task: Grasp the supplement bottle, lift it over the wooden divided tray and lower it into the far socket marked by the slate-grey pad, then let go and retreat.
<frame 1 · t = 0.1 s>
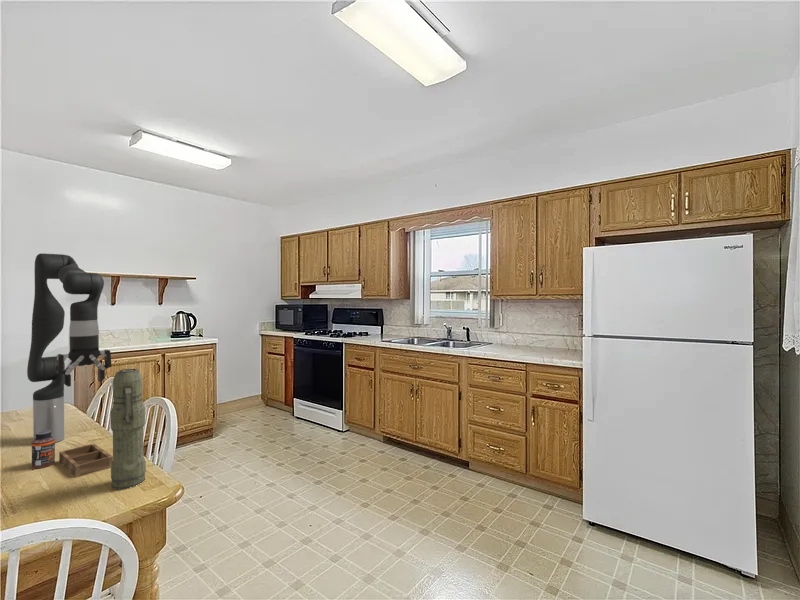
hand: (84, 383, 132), 29 cm above the table, fingers open, 8 cm apart
thermos: (128, 483, 126), on the table
wooden divided tray: (85, 464, 139), on the table
supplement bottle: (43, 465, 138), on the table
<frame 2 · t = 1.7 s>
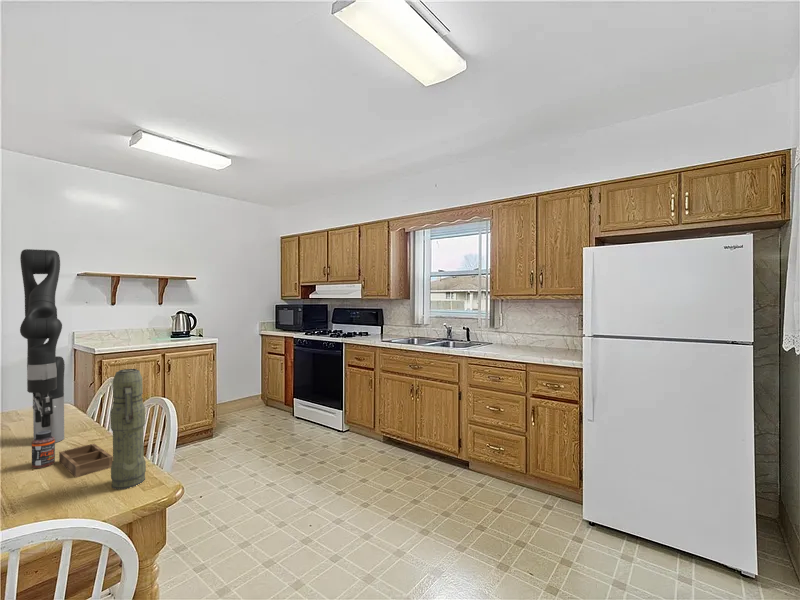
hand: (42, 424, 138), 14 cm above the table, fingers open, 8 cm apart
nothing on the table moved.
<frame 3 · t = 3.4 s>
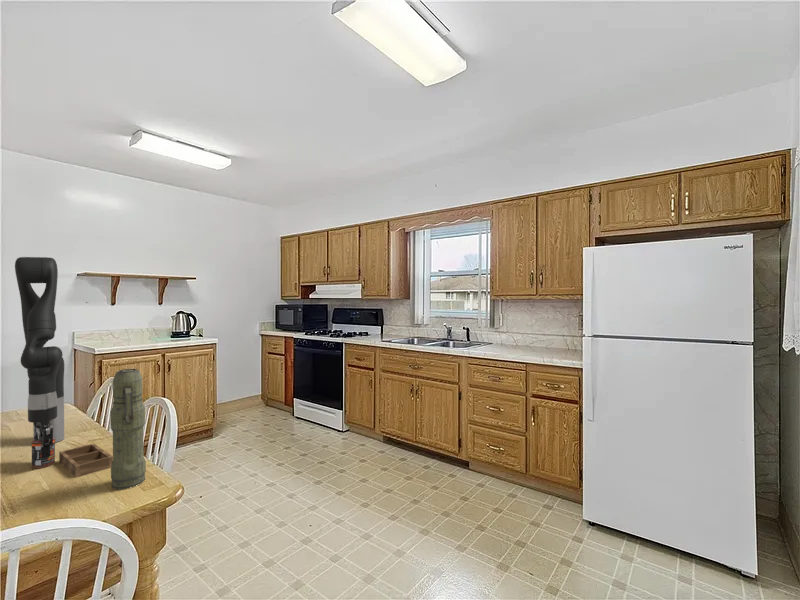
hand: (43, 454, 138), 4 cm above the table, fingers closed on supplement bottle, 6 cm apart
supplement bottle: (43, 465, 138), on the table, touching gripper
everything else where it was.
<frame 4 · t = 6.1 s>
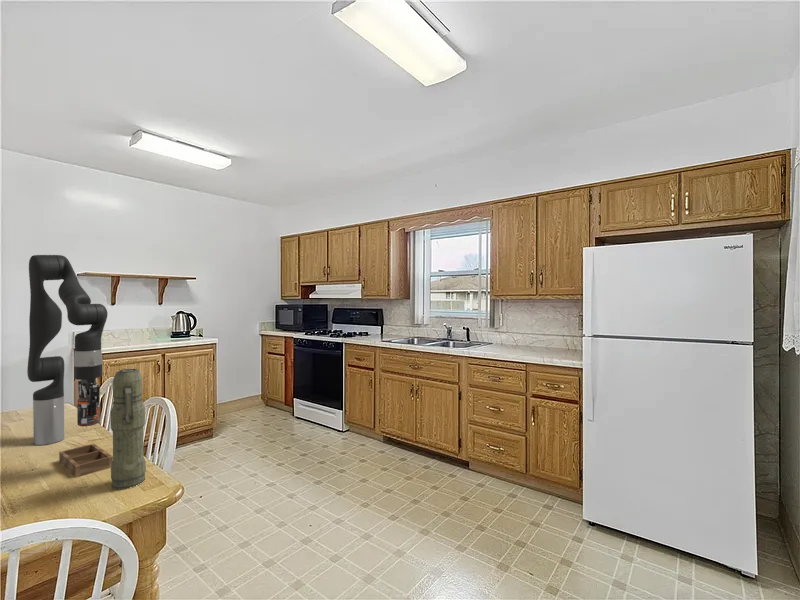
hand: (88, 413, 136), 18 cm above the table, fingers closed on supplement bottle, 6 cm apart
supplement bottle: (88, 424, 136), point 15 cm above the table, touching gripper
everything else where it was.
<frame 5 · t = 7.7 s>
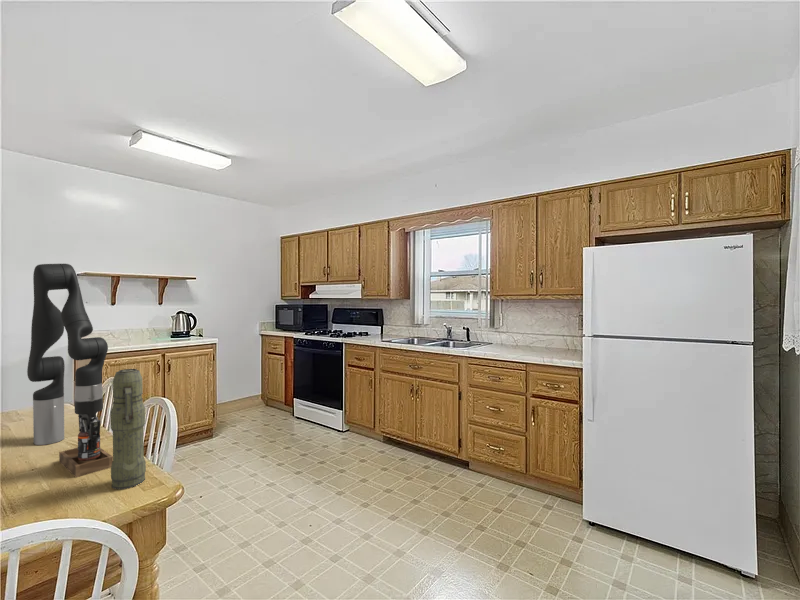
hand: (89, 447, 136), 7 cm above the table, fingers closed on supplement bottle, 6 cm apart
supplement bottle: (89, 458, 136), point 3 cm above the table, touching gripper
everything else where it was.
when the fingers open (5 cm above the table, at t = 9.1 s): supplement bottle stays where it is, resting on wooden divided tray.
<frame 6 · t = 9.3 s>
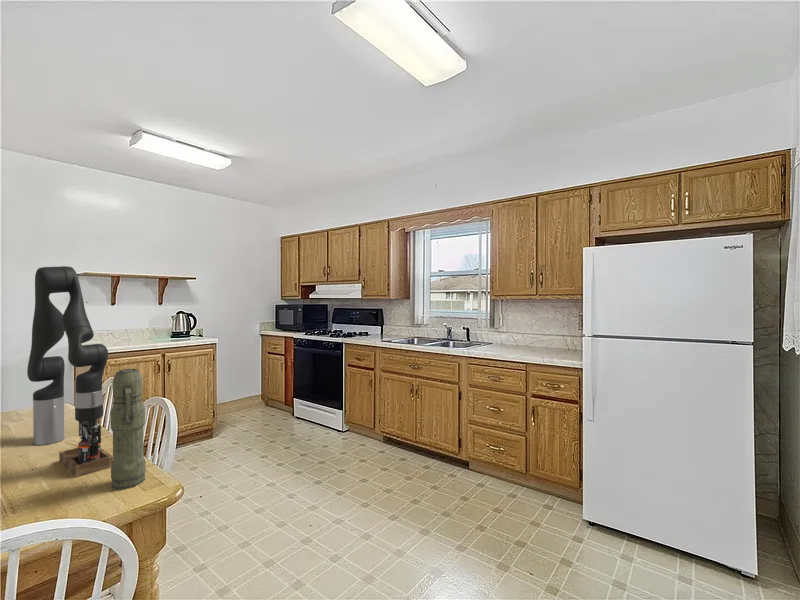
hand: (89, 452, 136), 5 cm above the table, fingers open, 7 cm apart
supplement bottle: (89, 467, 136), resting on wooden divided tray
everything else where it was.
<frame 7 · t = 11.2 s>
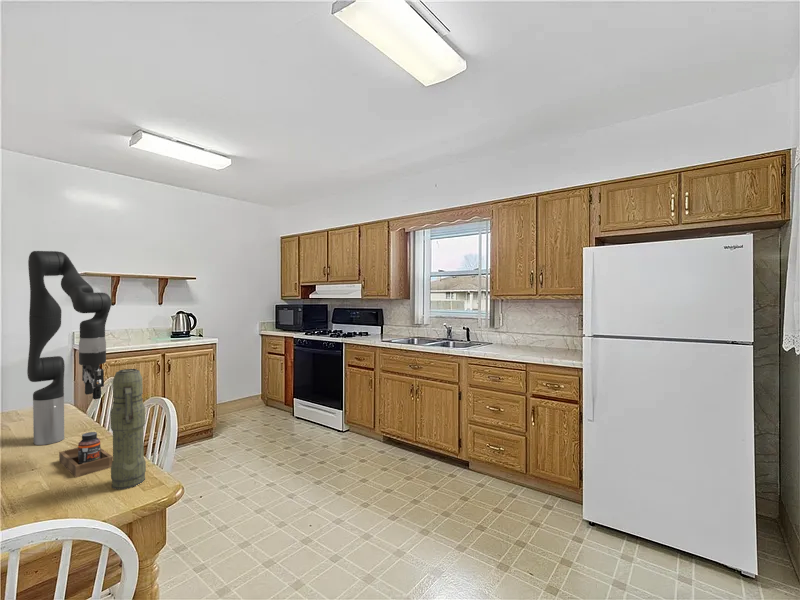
hand: (92, 396, 141), 23 cm above the table, fingers open, 8 cm apart
nothing on the table moved.
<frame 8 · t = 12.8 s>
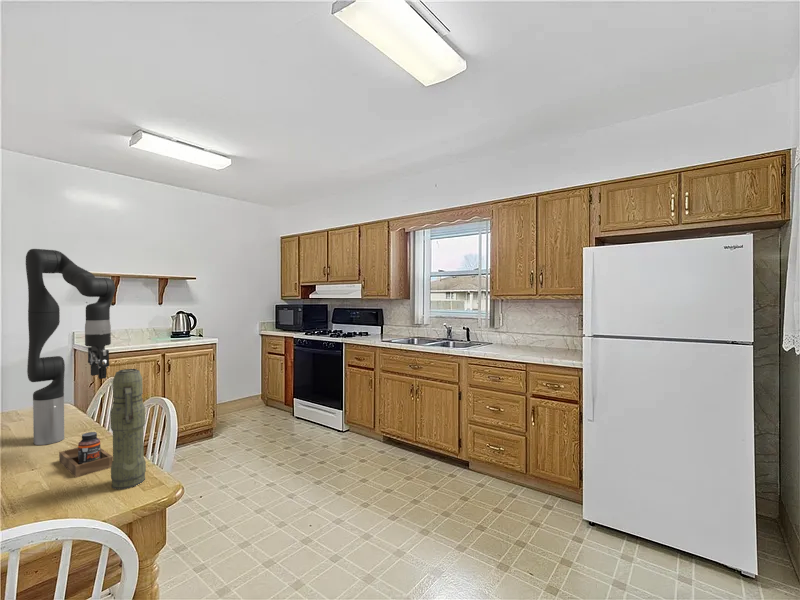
hand: (98, 376, 147), 28 cm above the table, fingers open, 8 cm apart
nothing on the table moved.
at the end: supplement bottle 0.2 cm from the target spot on the wooden divided tray, point 0.0 cm above the wooden divided tray's base; supplement bottle tilted 0°; the gripper is holding nothing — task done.
